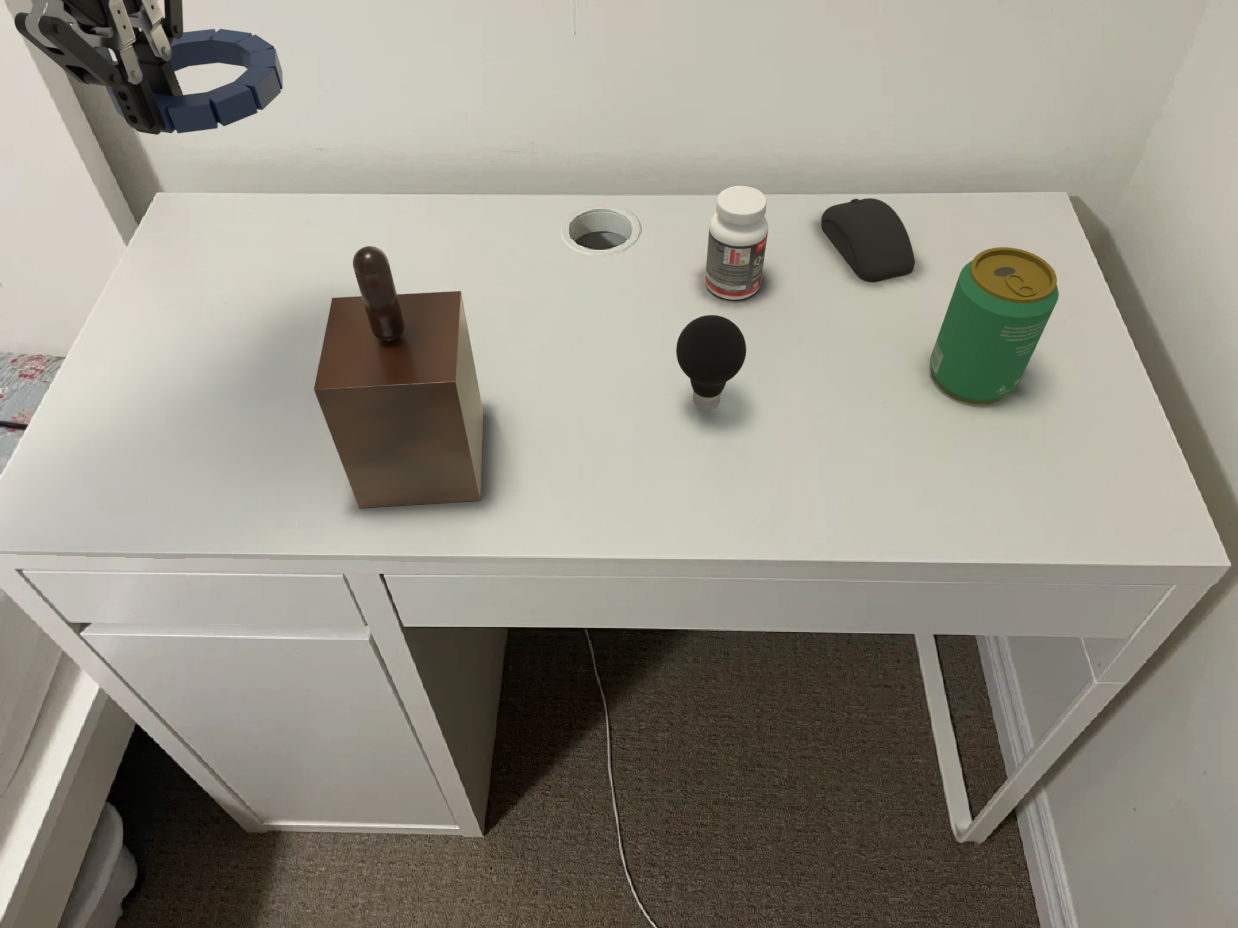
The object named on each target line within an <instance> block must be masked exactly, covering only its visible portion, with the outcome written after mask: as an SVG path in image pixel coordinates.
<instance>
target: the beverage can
mask: <svg viewBox="0 0 1238 928" xmlns="http://www.w3.org/2000/svg"><path fill="white" fill-rule="evenodd" d="M1057 283H1058V278H1057V273H1056V271H1055V269H1054V268H1053V267H1052V265H1050V264H1049V262H1047V261H1046V260H1045V259H1044V258H1041V257H1040V256H1038V255H1037V254H1034V253H1032V252H1030V251H1027V250H1024V249H1021V248H1015V247H1008V246H1007V247H1006V246H1005V247H1004V246H998V247H992V248H987V249H985V250H983V251H980V252H979V253H977V254H976V255H975V256H974V257H973V259H972V260H970V261H969V262H968V263H966V264H965V265H964V266H963V267H962V269H961V270H960V272H959V275H958V278H957V281H956V284H955V287H954V290H953V292H952V295H951V297H950V301H949V303H948V306H947V309H946V312H945V315H944V318H943V321H942V323H941V326H940V329H939V332H938V335H937V338H936V341H935V344H934V347H933V349H932V352H931V354H930V359H929V366H930V369H931V370H930V371H931V374H932V378H933V380H934V382H935V383H936V385H937V386H938V387H939V388H940V389H941V390H942V391H943V392H944V393H945V394H946V395H948V396H950V397H951V398H954V399H956V400H957V401H961V402H965V403H967V404H975V405H988V404H994V403H996V402H999V401H1001V400H1002V399H1004V398H1005V397H1007V396H1008V395H1010V394H1011V393H1013V392H1014V391H1015V390H1016V389H1017V387H1018V386H1019V384H1020V382H1021V379H1022V378H1023V375H1024V373H1025V371H1026V370H1027V366H1028V365H1029V362H1030V360H1031V359H1032V356H1033V354H1034V352H1035V350H1036V348H1037V345H1038V343H1039V341H1040V339H1041V337H1042V335H1043V333H1044V331H1045V328H1046V327H1047V324H1048V322H1049V320H1050V318H1051V316H1052V314H1053V312H1054V310H1055V307H1056V305H1057V303H1058V301H1059V295H1060V294H1059V288H1058V284H1057Z"/></svg>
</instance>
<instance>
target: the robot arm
mask: <svg viewBox="0 0 1238 928" xmlns="http://www.w3.org/2000/svg"><path fill="white" fill-rule="evenodd" d="M163 5H164V6H163V7H164V14H163V12H162V9H161V7H160V4H159V2H158V0H34V2H33V5H32V8H31V10H30V13H29V12H22V11H21V12H17V13H16V15H15V16H14V27H15V29H16V30H17V32H18V33H19V34H21V36H23V37H24V38H25V39H26V40H28V41H29V42H30V43H31V44H32V45H34V46H35V47H36V48H37V49H39V50H40V51H41V52H42V53H43V54H45V55H46V56H47V58H49V59H50V60H52V61H53V62H54V63H55V64H56V65H58V66H59V67H60V68H61V69H63V70H64V71H65V72H66V73H68V75H70V77H72V78H73V79H75V80H76V81H77V82H78V83H80V84H83V85H95V86H102V87H105V88H106V87H108V88H111V89H112V91H113V93H114V96H115V98H116V100H117V102H118V105H119V107H120V108H121V111H122V113H123V114H124V115H123V116H124V118H123V119H124V120H125V122H126V123H127V125H129V127H130V128H131V129H133V130H135V131H136V132H139V133H143V134H148V135H154V136H155V135H156V136H158V135H160V134H161V133H163V132H162V131H163V130H164V129H165V123H164V121H163V119H162V116H161V114H160V111H159V108H158V106H157V103H156V101H155V98H154V96H153V94H152V93H155V94H162V95H168V96H179V95H184V92H183V90H182V87H181V85H180V82H179V80H178V77H177V75H176V73H175V72H176V71H175V72H174V69H173V67H172V64H171V62H170V58H171V55H172V49H171V46H170V45H171V43H172V41H173V40H174V39H180V38H181V37H182V35H183V32H184V12H183V11H184V10H183V9H184V8H183V0H163ZM110 50H111V51H112V52H113V53H114V56H115V59H116V60H113V57H112V54H111V51H110ZM136 56H138V59H137V58H136Z"/></svg>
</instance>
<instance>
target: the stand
mask: <svg viewBox="0 0 1238 928" xmlns="http://www.w3.org/2000/svg"><path fill="white" fill-rule="evenodd" d="M390 266H391V265H390V261H389V259H388V256H387V255H386V253H385V252H384V251H383V250H382V249H381V248H379V247H377V246H372V245H366V246H363V247H361V248H360V249H358V250H357V251H356V252H355V254H354V256H353V259H352V268H353V271H354V275H355V278H356V282H357V285H358V289H359V292H360V295H357V296H340V297H339V296H338V297H331V301H330V305H329V306H330V307H329V312H328V317H327V322H326V327H325V330H324V331H325V332H324V336H323V342H322V347H321V352H320V357H319V361H318V366H317V372H316V376H315V382H314V386H313V392H314V394H315V397H316V399H317V402H318V404H319V406H320V410H321V412H322V415H323V418H324V420H325V423H326V425H327V428H328V431H329V433H330V436H331V438H332V441H333V444H334V446H335V449H336V452H337V454H338V457H339V460H340V462H341V465H342V467H343V469H344V472H345V475H346V478H347V480H348V483H349V485H350V488H351V491H352V493H353V496H354V498H355V501H356V504H357V507H358V508H359V509H365V508H366V509H367V508H383V507H384V508H385V507H399V506H416V505H418V506H419V505H431V504H449V503H464V502H479V501H481V498H482V497H481V495H482V494H481V493H482V465H483V437H484V435H483V434H484V433H483V432H484V409H483V404H482V397H481V393H480V392H481V391H480V387H479V382H478V376H477V371H476V365H475V360H474V355H473V348H472V343H471V337H470V331H469V327H468V326H469V325H468V321H467V315H466V311H465V305H464V299H463V293H462V291H461V290H454V291H453V290H452V291H435V292H416V293H398V292H397V289H396V285H395V281H394V278H393V273H392V269H391V267H390Z"/></svg>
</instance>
